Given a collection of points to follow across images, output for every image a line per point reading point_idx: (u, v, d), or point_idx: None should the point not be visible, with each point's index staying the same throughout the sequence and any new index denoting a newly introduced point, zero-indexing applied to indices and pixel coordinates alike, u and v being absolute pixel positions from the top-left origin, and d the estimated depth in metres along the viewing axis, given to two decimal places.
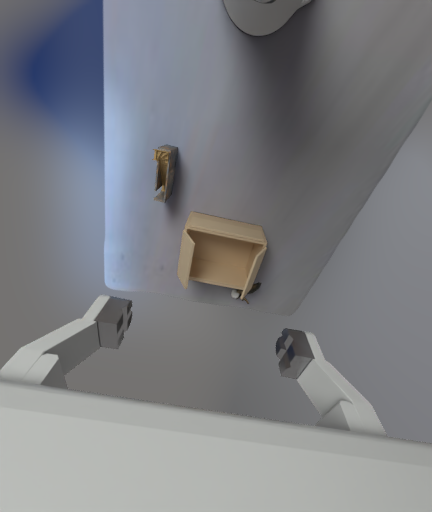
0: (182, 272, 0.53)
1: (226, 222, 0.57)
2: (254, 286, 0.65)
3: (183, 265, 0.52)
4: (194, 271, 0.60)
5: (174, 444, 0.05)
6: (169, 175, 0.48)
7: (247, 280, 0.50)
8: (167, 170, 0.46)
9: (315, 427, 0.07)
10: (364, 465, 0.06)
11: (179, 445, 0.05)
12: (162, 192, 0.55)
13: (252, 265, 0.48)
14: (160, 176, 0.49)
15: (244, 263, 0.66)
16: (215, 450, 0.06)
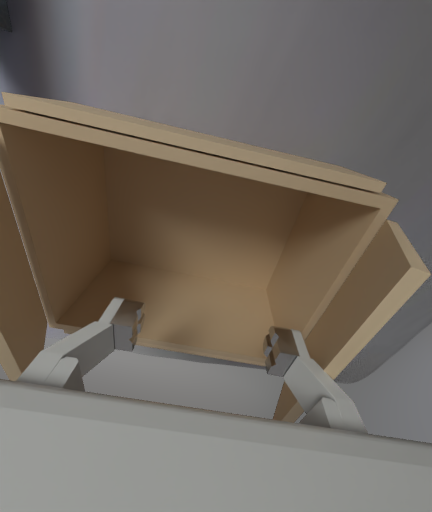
0: None
1: None
2: None
3: None
4: None
5: (174, 444, 0.05)
6: None
7: None
8: None
9: (315, 427, 0.07)
10: (364, 465, 0.06)
11: (179, 445, 0.05)
12: None
13: (364, 325, 0.08)
14: None
15: (264, 277, 0.25)
16: (215, 450, 0.06)
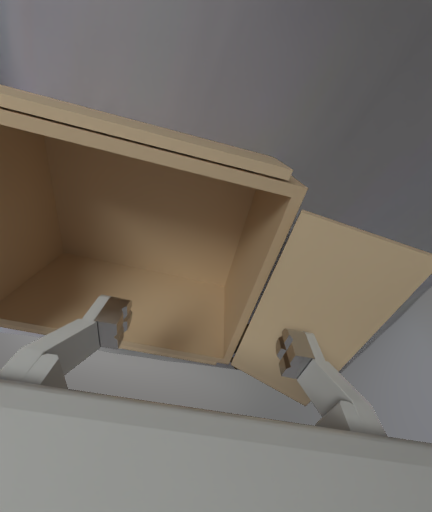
0: None
1: None
2: None
3: None
4: (54, 300, 0.19)
5: (174, 444, 0.05)
6: None
7: None
8: None
9: (315, 427, 0.07)
10: (364, 465, 0.06)
11: (179, 445, 0.05)
12: None
13: (402, 303, 0.10)
14: None
15: (221, 274, 0.25)
16: (215, 450, 0.06)
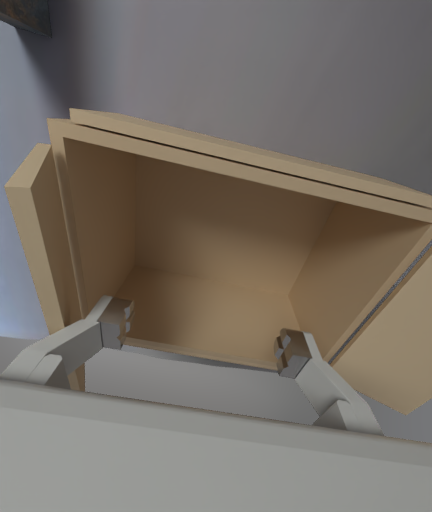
0: None
1: None
2: None
3: None
4: (146, 314, 0.19)
5: (174, 444, 0.05)
6: None
7: None
8: None
9: (315, 427, 0.07)
10: (364, 465, 0.06)
11: (179, 445, 0.05)
12: None
13: None
14: None
15: (286, 283, 0.25)
16: (215, 450, 0.06)
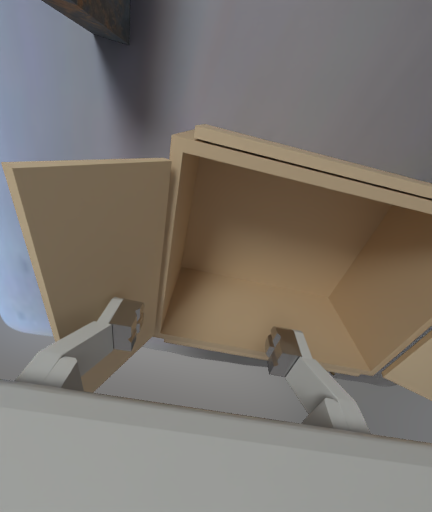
0: None
1: None
2: None
3: None
4: (205, 316, 0.20)
5: (174, 444, 0.05)
6: None
7: None
8: None
9: (315, 427, 0.07)
10: (364, 465, 0.06)
11: (179, 445, 0.05)
12: None
13: None
14: None
15: (329, 286, 0.26)
16: (215, 450, 0.06)
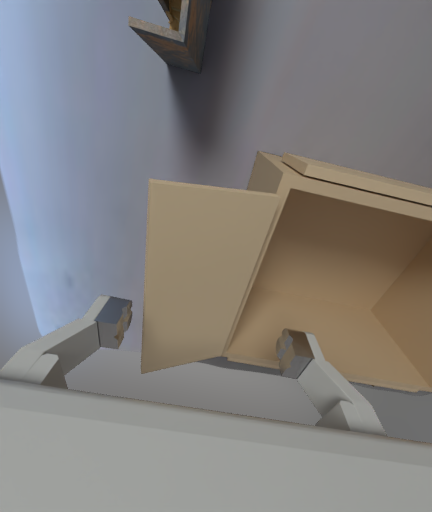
0: None
1: None
2: None
3: None
4: (262, 333, 0.20)
5: (174, 444, 0.05)
6: None
7: None
8: None
9: (315, 427, 0.07)
10: (364, 465, 0.06)
11: (179, 445, 0.05)
12: None
13: None
14: None
15: (372, 299, 0.26)
16: (215, 450, 0.06)
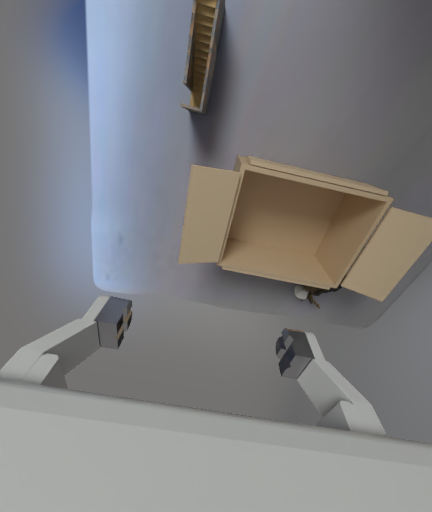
0: None
1: None
2: None
3: None
4: (241, 258, 0.35)
5: (174, 444, 0.05)
6: (213, 51, 0.24)
7: (408, 268, 0.29)
8: (213, 27, 0.22)
9: (315, 427, 0.07)
10: (364, 465, 0.06)
11: (179, 445, 0.05)
12: None
13: (431, 241, 0.27)
14: (193, 59, 0.25)
15: (313, 247, 0.42)
16: (215, 450, 0.06)
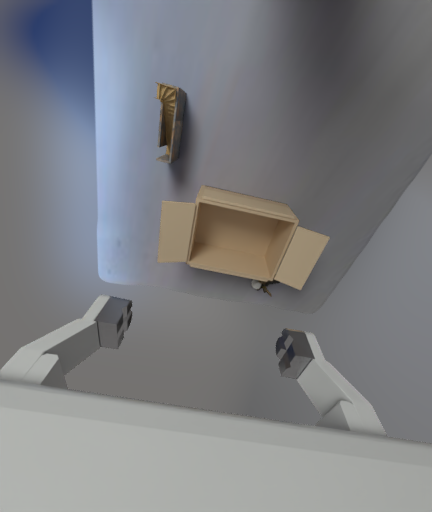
0: None
1: (245, 198, 0.46)
2: None
3: None
4: (205, 258, 0.49)
5: (174, 444, 0.05)
6: (176, 126, 0.37)
7: None
8: (174, 117, 0.35)
9: (315, 427, 0.07)
10: (364, 465, 0.06)
11: (179, 445, 0.05)
12: (167, 155, 0.44)
13: None
14: (164, 129, 0.39)
15: (263, 250, 0.55)
16: (215, 450, 0.06)
